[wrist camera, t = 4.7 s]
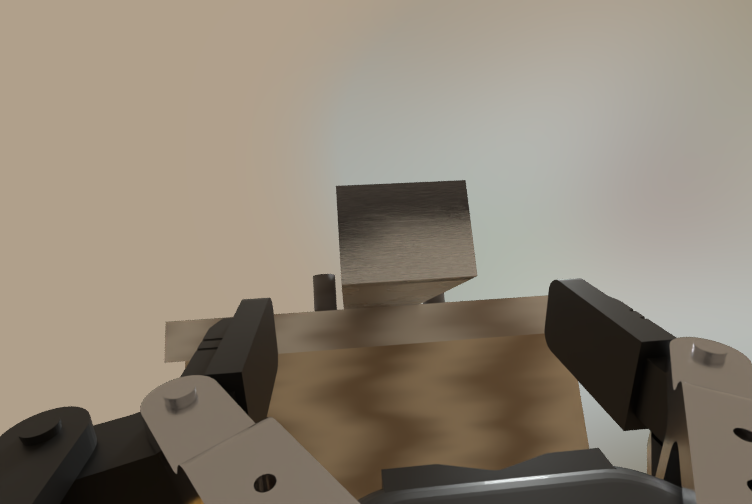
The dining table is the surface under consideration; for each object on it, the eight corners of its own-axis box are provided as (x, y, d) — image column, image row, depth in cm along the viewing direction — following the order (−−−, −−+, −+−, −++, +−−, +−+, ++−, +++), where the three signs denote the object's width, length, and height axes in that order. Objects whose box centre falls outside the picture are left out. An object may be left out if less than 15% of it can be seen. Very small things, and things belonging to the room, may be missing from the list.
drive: (341, 284, 12) (335, 186, 12) (345, 322, 37) (343, 289, 38) (477, 275, 12) (465, 180, 13) (389, 319, 38) (386, 286, 38)
